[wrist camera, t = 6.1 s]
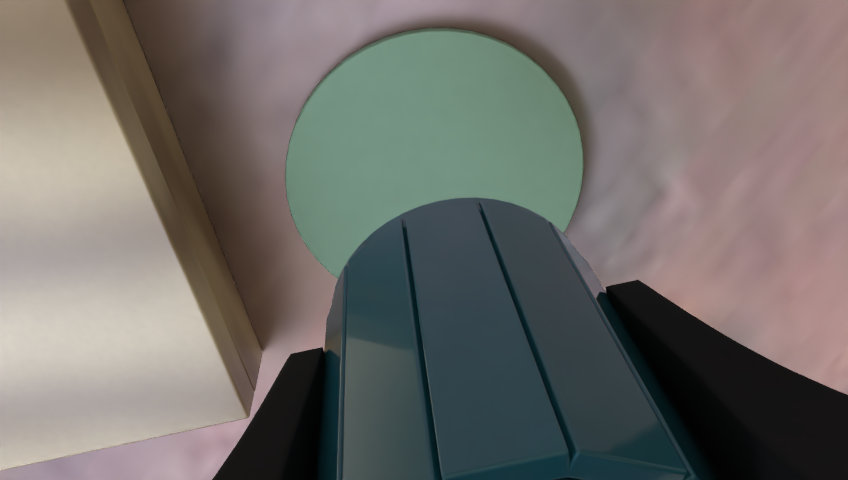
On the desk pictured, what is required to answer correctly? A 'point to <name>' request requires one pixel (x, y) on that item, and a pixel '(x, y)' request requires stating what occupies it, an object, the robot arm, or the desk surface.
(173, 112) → the desk surface
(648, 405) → the cup
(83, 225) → the shelf
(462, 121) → the coaster
